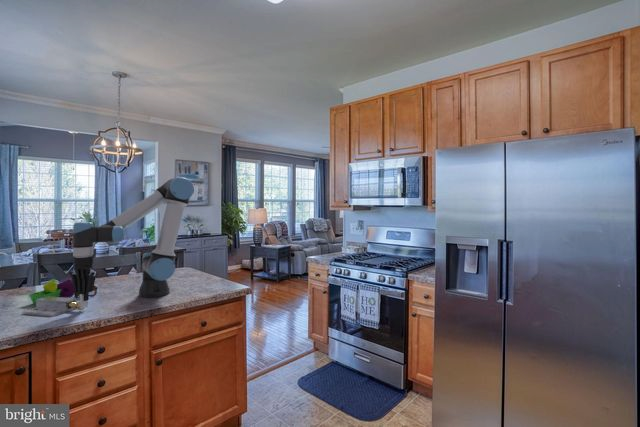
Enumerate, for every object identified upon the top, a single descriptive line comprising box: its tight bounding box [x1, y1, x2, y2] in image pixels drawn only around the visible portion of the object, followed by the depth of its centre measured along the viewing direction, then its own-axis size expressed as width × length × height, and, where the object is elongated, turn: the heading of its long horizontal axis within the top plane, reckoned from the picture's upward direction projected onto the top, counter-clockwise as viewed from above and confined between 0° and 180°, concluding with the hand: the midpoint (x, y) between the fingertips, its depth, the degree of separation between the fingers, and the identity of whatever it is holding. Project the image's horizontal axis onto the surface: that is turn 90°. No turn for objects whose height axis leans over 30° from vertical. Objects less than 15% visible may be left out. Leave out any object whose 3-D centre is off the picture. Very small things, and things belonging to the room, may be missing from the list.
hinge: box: [21, 296, 79, 318], centre depth 152 cm, size 16×18×5 cm
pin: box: [68, 301, 85, 311], centre depth 151 cm, size 18×4×4 cm, turn 80°
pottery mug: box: [73, 285, 99, 299], centre depth 174 cm, size 12×10×8 cm
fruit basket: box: [29, 278, 62, 305], centre depth 164 cm, size 11×9×11 cm
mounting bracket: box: [57, 277, 75, 298], centre depth 176 cm, size 9×8×18 cm
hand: (83, 307), depth 150 cm, fingers closed
